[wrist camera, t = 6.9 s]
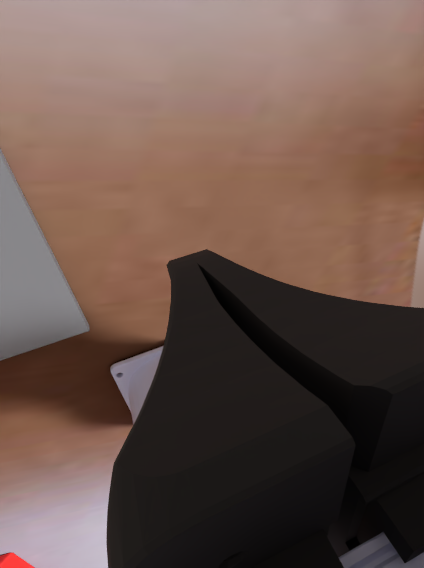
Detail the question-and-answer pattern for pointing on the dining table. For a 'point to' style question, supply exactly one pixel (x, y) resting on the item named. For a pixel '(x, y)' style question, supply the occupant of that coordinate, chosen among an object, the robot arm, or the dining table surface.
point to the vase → (13, 561)
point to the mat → (30, 279)
